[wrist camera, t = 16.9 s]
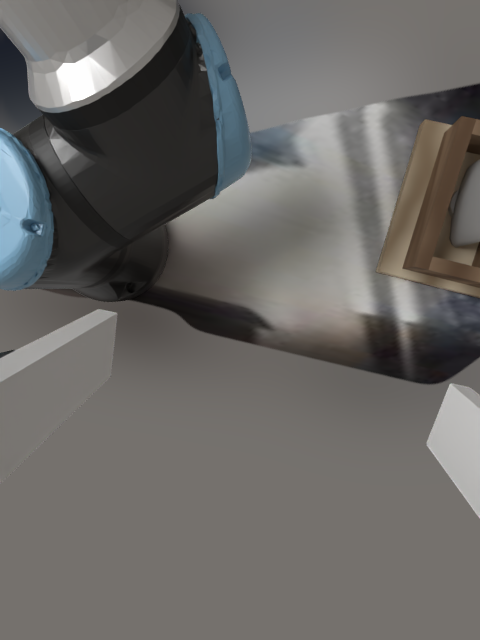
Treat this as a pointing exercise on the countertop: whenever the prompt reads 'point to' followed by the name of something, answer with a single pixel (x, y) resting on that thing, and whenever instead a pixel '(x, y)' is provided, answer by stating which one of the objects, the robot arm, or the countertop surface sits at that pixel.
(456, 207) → the tall pale column
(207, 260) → the countertop surface
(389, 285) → the countertop surface
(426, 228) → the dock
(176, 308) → the countertop surface
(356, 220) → the countertop surface
